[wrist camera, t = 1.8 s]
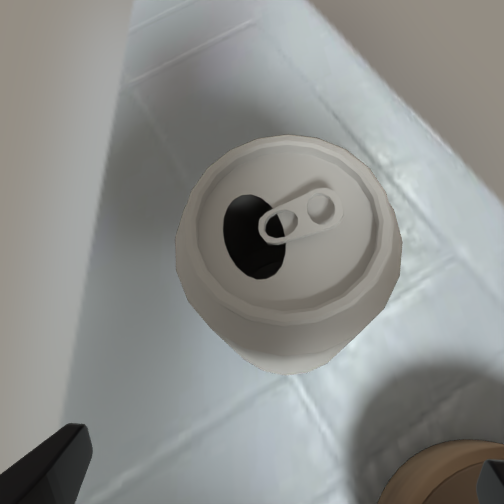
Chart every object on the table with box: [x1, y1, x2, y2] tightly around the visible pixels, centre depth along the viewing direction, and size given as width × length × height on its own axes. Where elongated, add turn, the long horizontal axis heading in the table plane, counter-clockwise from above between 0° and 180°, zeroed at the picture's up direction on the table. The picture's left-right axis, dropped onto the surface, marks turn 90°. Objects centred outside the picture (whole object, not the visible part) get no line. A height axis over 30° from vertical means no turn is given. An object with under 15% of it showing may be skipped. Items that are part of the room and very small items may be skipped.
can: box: [175, 134, 402, 375], centre depth 17 cm, size 8×8×12 cm
